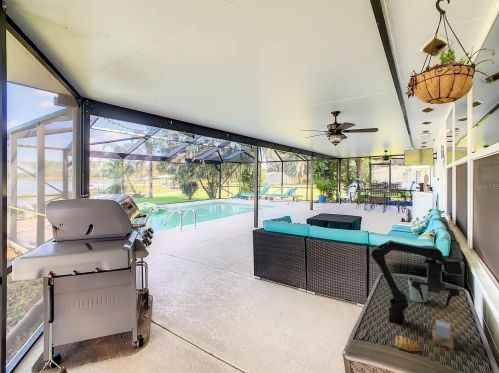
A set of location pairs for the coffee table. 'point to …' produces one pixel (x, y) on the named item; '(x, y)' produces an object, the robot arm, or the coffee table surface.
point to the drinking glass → (415, 293)
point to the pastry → (406, 344)
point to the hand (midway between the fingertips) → (434, 303)
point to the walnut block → (442, 340)
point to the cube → (442, 329)
